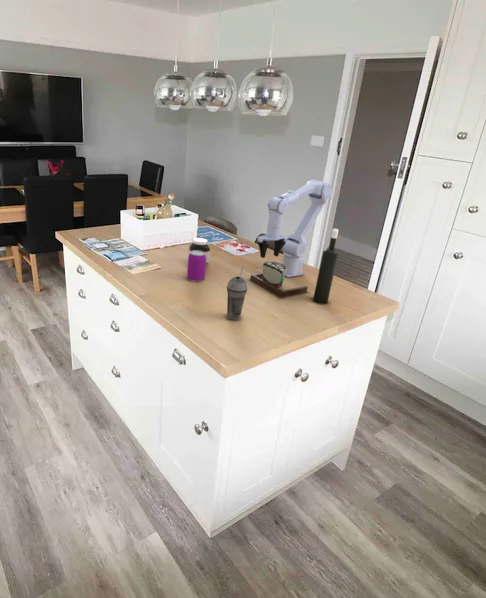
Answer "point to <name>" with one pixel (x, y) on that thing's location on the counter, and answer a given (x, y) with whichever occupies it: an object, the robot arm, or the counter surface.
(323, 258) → the wine bottle
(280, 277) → the food container
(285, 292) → the brown frame
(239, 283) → the beverage cup
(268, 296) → the counter surface
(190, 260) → the beverage can
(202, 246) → the spread jar
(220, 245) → the counter surface
